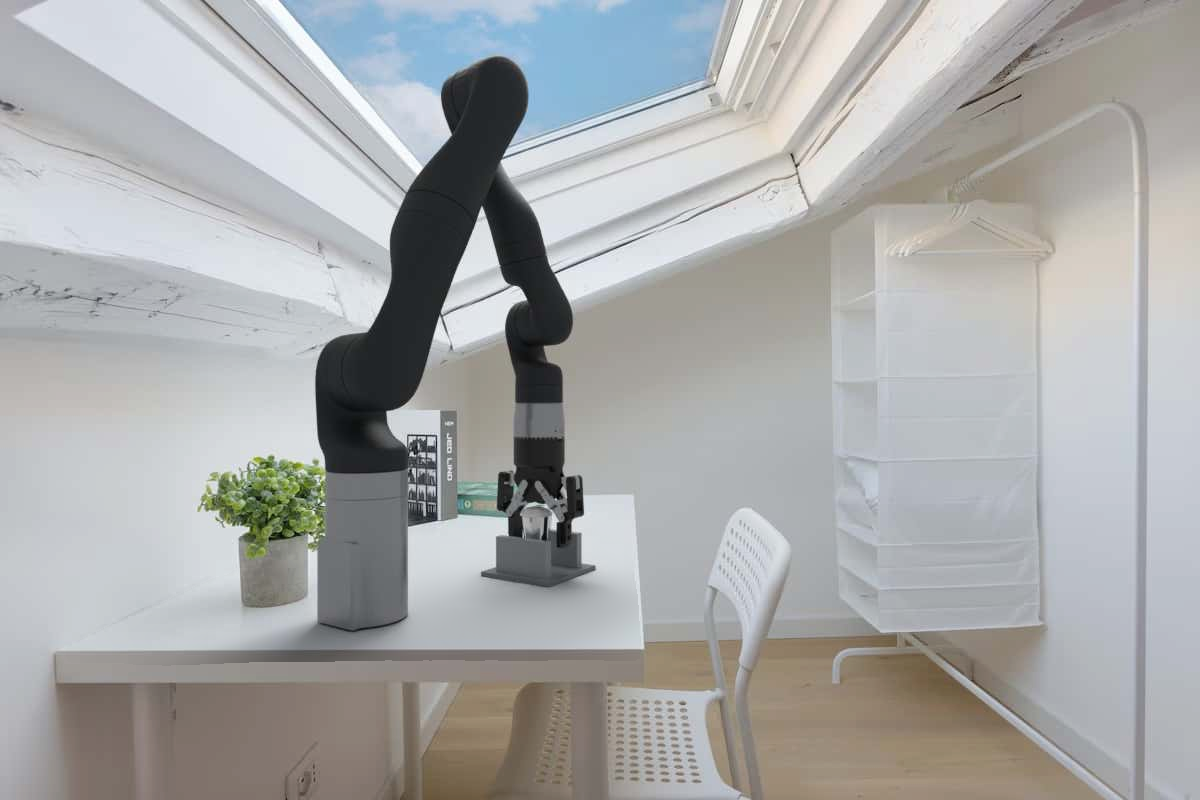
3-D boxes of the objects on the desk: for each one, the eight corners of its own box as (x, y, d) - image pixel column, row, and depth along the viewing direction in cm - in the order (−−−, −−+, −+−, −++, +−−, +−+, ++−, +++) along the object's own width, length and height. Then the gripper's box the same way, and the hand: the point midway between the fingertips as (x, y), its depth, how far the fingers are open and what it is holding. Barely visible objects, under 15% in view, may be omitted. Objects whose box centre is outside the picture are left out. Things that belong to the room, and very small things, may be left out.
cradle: (548, 587, 96) (548, 545, 96) (481, 575, 103) (481, 537, 103) (595, 569, 107) (595, 532, 107) (531, 560, 113) (531, 524, 113)
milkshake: (557, 571, 102) (556, 502, 102) (520, 572, 102) (519, 502, 102) (559, 564, 107) (558, 498, 107) (524, 565, 107) (523, 498, 107)
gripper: (485, 433, 105) (485, 543, 105) (564, 436, 98) (564, 554, 98) (517, 432, 112) (517, 535, 112) (593, 434, 104) (593, 544, 104)
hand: (539, 544), depth 105 cm, fingers open, 8 cm apart
